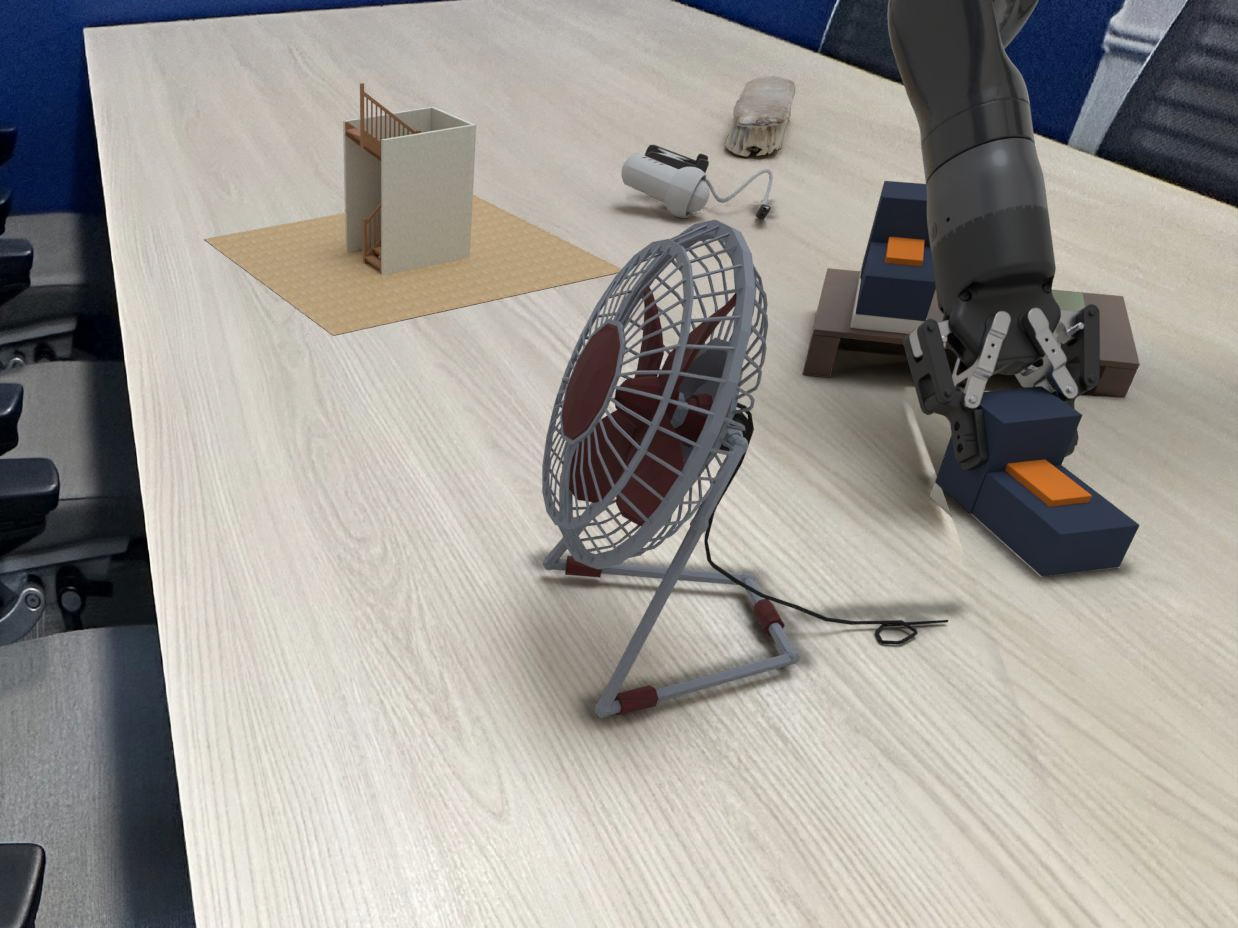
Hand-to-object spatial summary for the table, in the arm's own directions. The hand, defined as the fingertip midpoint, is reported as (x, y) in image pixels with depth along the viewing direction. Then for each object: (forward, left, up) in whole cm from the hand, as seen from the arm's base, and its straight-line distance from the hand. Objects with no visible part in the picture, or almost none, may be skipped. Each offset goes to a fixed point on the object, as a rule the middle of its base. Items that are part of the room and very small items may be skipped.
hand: (1018, 461), depth 87 cm
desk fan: (+20, +18, -5) cm, 27 cm away
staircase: (+52, -53, -5) cm, 74 cm away
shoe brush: (+11, -105, -5) cm, 105 cm away
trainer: (-1, +3, -4) cm, 5 cm away
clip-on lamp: (+20, -72, -5) cm, 74 cm away
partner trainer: (+4, -32, 0) cm, 32 cm away
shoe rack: (-2, -31, -4) cm, 31 cm away
